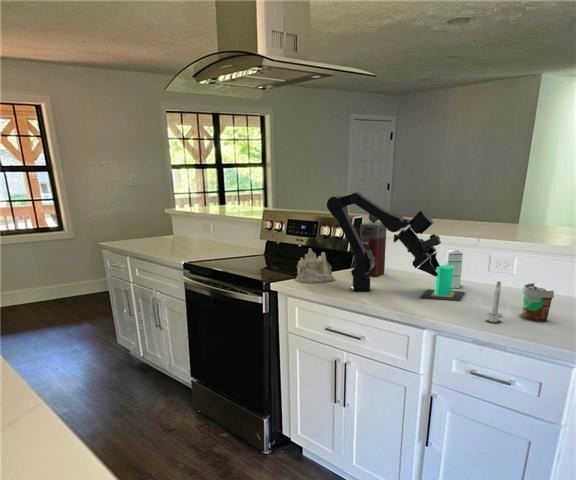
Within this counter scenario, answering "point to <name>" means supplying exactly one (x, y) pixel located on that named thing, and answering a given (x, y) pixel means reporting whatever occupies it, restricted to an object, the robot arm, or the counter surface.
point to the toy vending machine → (374, 243)
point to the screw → (495, 305)
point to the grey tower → (455, 266)
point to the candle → (444, 280)
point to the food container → (536, 302)
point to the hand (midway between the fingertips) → (439, 273)
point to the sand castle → (314, 268)
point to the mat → (454, 296)
